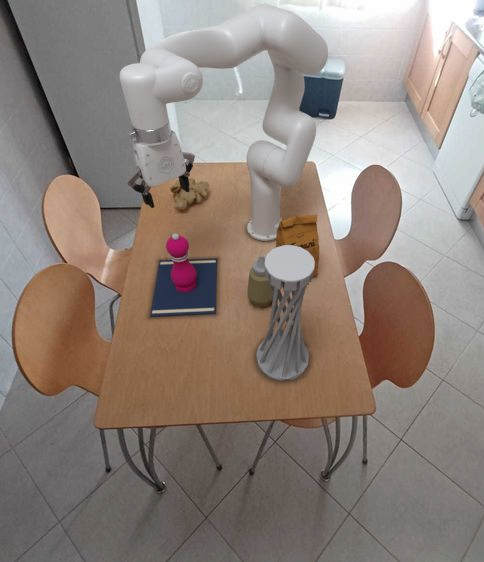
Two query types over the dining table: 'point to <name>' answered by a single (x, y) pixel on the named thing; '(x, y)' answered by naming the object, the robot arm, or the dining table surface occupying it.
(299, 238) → the coffee package
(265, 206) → the robot arm
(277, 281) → the twisted lattice pedestal
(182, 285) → the pepper mill
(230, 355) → the dining table surface
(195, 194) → the ginger root
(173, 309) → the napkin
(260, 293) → the squeeze bottle
